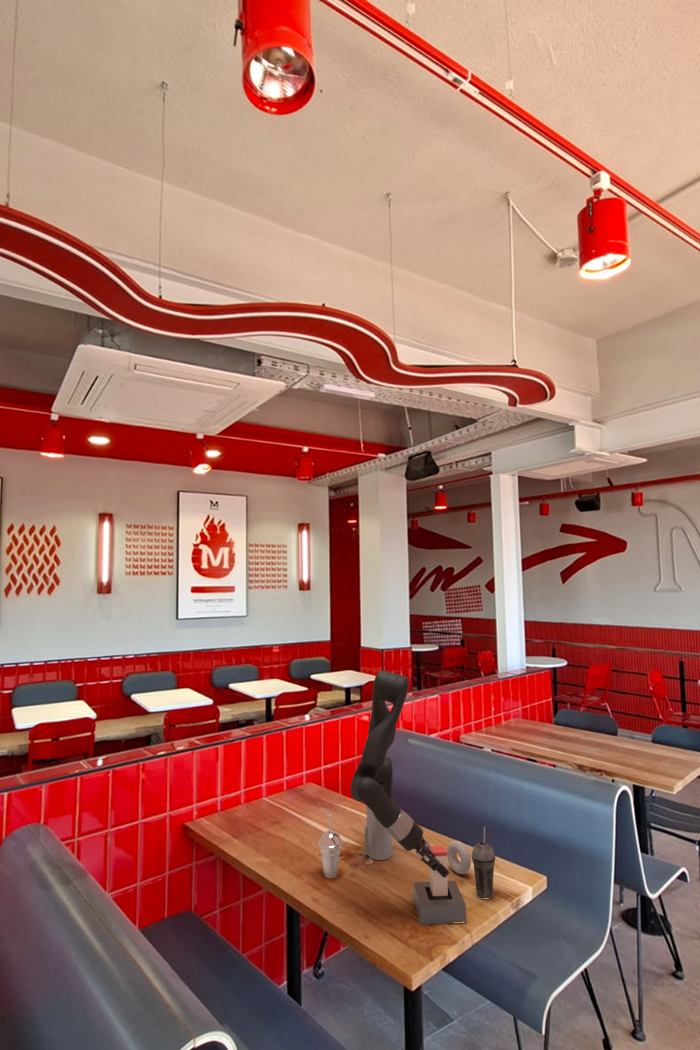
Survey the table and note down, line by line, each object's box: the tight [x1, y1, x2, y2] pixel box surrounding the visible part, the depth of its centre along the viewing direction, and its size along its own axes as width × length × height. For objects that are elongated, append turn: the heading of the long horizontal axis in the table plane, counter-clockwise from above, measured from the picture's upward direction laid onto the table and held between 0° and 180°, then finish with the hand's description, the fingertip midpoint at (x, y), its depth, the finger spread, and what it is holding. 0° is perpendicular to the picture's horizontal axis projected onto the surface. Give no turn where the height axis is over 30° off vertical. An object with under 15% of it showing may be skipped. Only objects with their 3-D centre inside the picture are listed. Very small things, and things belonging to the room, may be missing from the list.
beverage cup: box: [471, 826, 496, 899], centre depth 177 cm, size 7×7×20 cm
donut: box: [446, 840, 472, 875], centre depth 191 cm, size 10×4×10 cm, turn 34°
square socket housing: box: [412, 880, 467, 926], centre depth 169 cm, size 13×13×5 cm
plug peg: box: [429, 845, 449, 896], centre depth 170 cm, size 4×4×12 cm
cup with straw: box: [317, 807, 344, 879], centre depth 191 cm, size 8×9×20 cm
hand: (444, 870), depth 170 cm, fingers closed on plug peg, 4 cm apart
